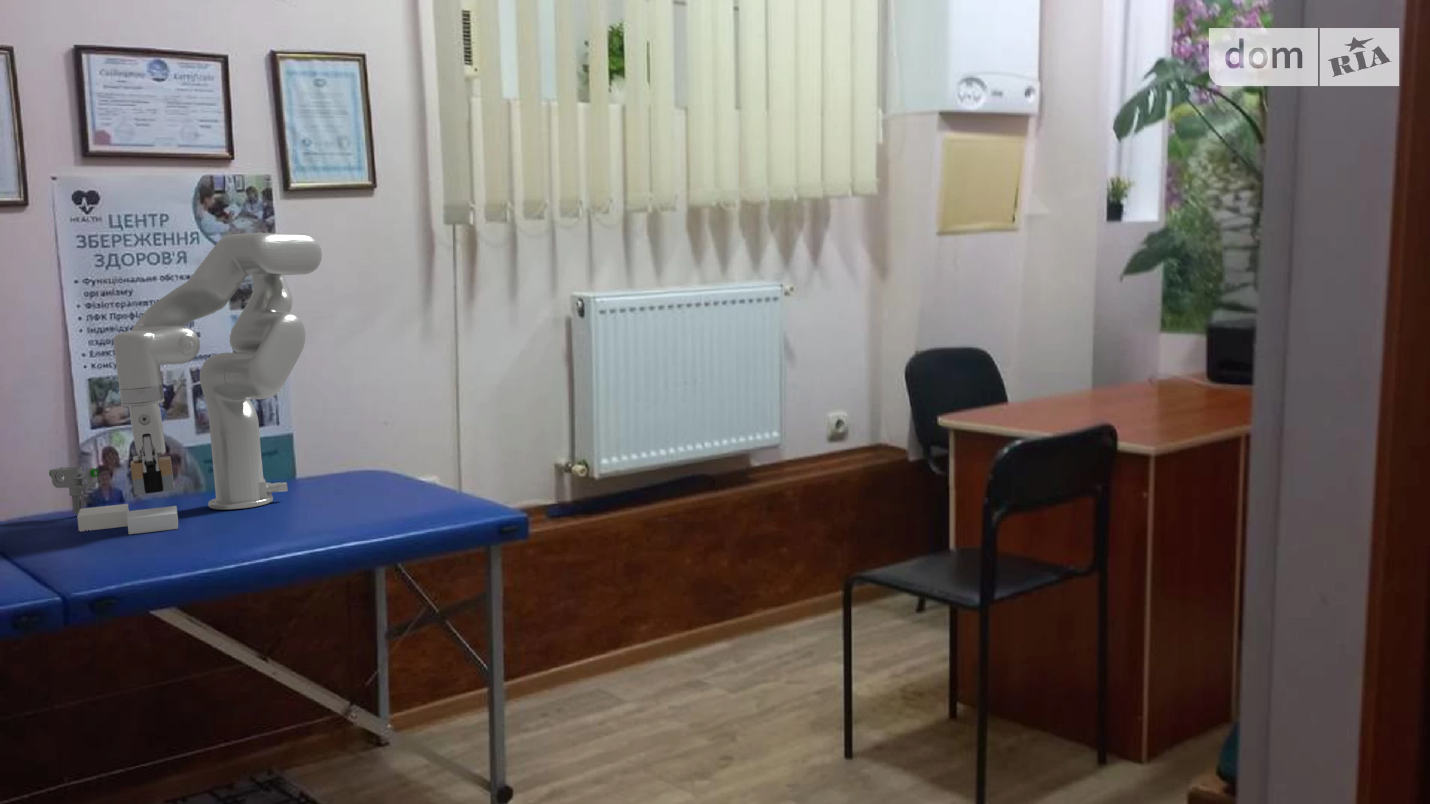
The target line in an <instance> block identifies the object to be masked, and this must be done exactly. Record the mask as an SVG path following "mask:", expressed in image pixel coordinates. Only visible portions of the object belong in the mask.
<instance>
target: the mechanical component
mask: <svg viewBox="0 0 1430 804" xmlns="http://www.w3.org/2000/svg"><path fill="white" fill-rule="evenodd" d="M99 471H100V470H98V468H94V467H90V468H87V469H86V471H83V468H82V466H73V467H70V466H67V467H65V466H63V467H55V468H52V469H50V470H49V474H48V475H49V477H50V478H51V483H52V485H53V486H54V487H55V488H58V489H62V488H64V489H65V488H67V489H69V494H68V496H70V497H71V498H72V499H71V500H72V507H73V515H74V514H77V515H78V513H79V511H80V509H83V506H82V505H83V504H82V495H84V492H83V488H88V487H92V486H95V485H97V484H98V482H99V479H98V476H99V473H100V472H99ZM84 480H86V481H87V482H86V483H84Z"/></svg>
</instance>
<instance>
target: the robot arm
mask: <svg viewBox="0 0 1430 804" xmlns="http://www.w3.org/2000/svg"><path fill="white" fill-rule="evenodd" d="M321 248H322V247H321V246H320V244H319V242H318V241H317V240H316V239H315V237H313V236H311V235H309V234H306V233H277V232H276V233H274V232H248V233H235V234H228V235H225V236H223V237H221V238H220V239H219V240H218V241H217V242H216V244H215V245H214V246H213V247H212V249H211V250H210V251H209V253H208V254H207V255H206V257H205V258H204V259H203V260H202V262H201V263H200V264H199V265H198V267H197V268H196V270H195V271H194V272H193V274H192V275H191V276H190V277H189V278H188V280H187V281H186V282H185V283H183V284H181V285H179V286H178V287H176V288H174V289H173V290H172V291H170V292H169V293H168V294H165V295H164V296H162V297H161V298H160V299H158V300H156V301H155V302H154V303H153V304H152V305H151V306H150V307H148V308H147V309H146V311H144V313H143V314H142V315H141V316H140V317H139V319H138V320H137V322H136V323H135V324H134V326H133V327H132V329H131V331H130V330H129V331H125V332H124V331H123V332H118V333H117V334H116V335H115V336H114V337H113V341H112V342H113V343H112V344H113V351H114V358H115V366H116V374H117V381H118V387H119V396H120V401H121V402H120V403H121V407H126V408H127V407H128V411H129V418H130V424H131V430H132V437H133V441H134V445H135V449H136V454H137V455H136V456H139V457H141V456H142V463H143V471H144V473H143V480H144V488H145V493H148V494H154V493H162V491H163V483H162V475H161V470H160V471H159V464H158V458H159V454H161V455H162V456H163V455H165V453H166V443H165V435H164V427H163V426H164V425H163V420H162V412H161V408H160V404H162V403H164V402H165V396H164V395H165V394H164V386H163V379H162V370H161V366H165V365H183V364H186V363H190V362H191V361H193V359H195V357H197V355H198V354H199V352H200V348H201V341H200V338H199V336H198V335H197V333H196V332H195V331H194V330H192V329H191V328H189V327H186V326H185V325H187V324H189V323H191V322H193V321H195V320H198V319H201V318H204V317H207V316H209V315H212V314H215V313H217V312H218V311H220V310H222V309H224V308H225V306H226V305H227V304H228V303H229V301H230V300H231V299H232V297H233V296H234V294H235V293H236V292H237V290H238V288H239V287H240V286H241V285H242V283H243V282H244V281H245V279H246V278H247V277H248V276H251V277H252V283H253V290H252V293H251V294H250V295H251V296H250V297H249V299H248V301H247V303H246V304H245V306H244V307H243V310H242V311H241V313H240V314H239V316H238V318H237V320H236V321H235V323H234V325H233V327H232V328H231V329H232V330H231V332H230V335H229V345H230V348H231V349H232V351H234V352H221V353H217V354H213V355H211V356H209V357H208V358H207V359H205V360H204V362H203V363H202V365H201V368H200V371H199V383H200V387H201V390H202V394H203V396H204V400H205V403H206V409H207V414H208V423H209V437H210V447H211V456H212V457H211V458H212V459H211V460H212V467H213V468H212V469H213V478H214V479H213V480H214V481H213V482H214V490H215V498H212V499H211V500H209V501H208V507H209V509H211V510H222V511H223V510H224V511H225V510H240V509H248V508H256V507H260V506H263V505H267V504H268V505H269V504H270V503H272V502H273V501H274V497H273V495H272V494H273V493H281V492H283V493H284V492H288V489H289V488H288V483H287V481H286V482H280V481H279V482H274V483H271V482H266V479H265V478H264V473H263V471H264V470H263V461H262V450H261V449H262V447H261V438H260V437H261V436H260V422H259V417H258V414H257V411H256V408H255V406H254V405H253V403H252V400H264V399H265V400H266V399H270V398H273V397H275V396H276V395H277V394H278V393H279V392H281V389H282V388H283V387H284V385H285V383H286V381H287V380H288V378H289V376H290V374H291V373H292V370H293V369H294V367H295V366H296V363H297V362H298V360H299V358H300V356H301V354H302V352H303V350H304V347H305V344H306V329H305V325H304V323H303V320H301V318H299V316H297V315H296V314H294V313H293V312H291V310H292V307H293V296H292V292H291V290H290V287H289V285H288V281H287V280H286V277H285V276H292V275H293V276H295V275H296V276H297V275H308V274H311V273H314V272H315V271H316V270H317V269H318V267H319V266H320V265H321V262H322V257H323V253H322V249H321ZM153 458H155V460H154V459H153ZM145 459H146V460H145ZM155 464H156V466H155ZM163 492H164V491H163Z"/></svg>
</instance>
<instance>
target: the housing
mask: <svg viewBox="0 0 1430 804" xmlns="http://www.w3.org/2000/svg"><path fill="white" fill-rule="evenodd" d="M158 457H159V456H158ZM132 459H133V460H131V461H130V472H131V478H132V486H133V492H134V493H133V494H134V495H133V496H139V495H147V494H149V493H145V488H144V480H143V473H144V471H143V463H142V456H141V457H139V456H138V455H136V456H132ZM153 459H154V460H155V458H153ZM145 460H146V459H145ZM158 464H159V471H160V470H161V475H162V483H163V491H162V492H163V493H164V492H168V491H170V492H171V491H175V483H174V475H173V464H172V459H171V456H167V455H166V456H162V457H159V458H158ZM155 466H156V464H155ZM162 492H161V493H162Z"/></svg>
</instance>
